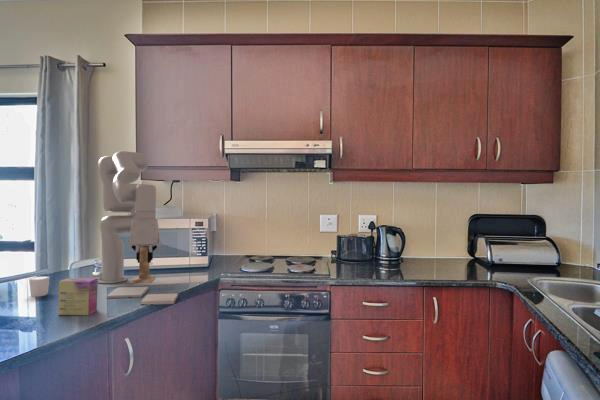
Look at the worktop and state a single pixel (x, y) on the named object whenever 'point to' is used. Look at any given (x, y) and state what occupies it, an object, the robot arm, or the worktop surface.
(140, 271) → the masher
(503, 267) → the worktop surface
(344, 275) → the worktop surface
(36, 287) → the white cup
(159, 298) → the tile
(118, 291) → the rest pad
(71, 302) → the box
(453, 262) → the worktop surface
